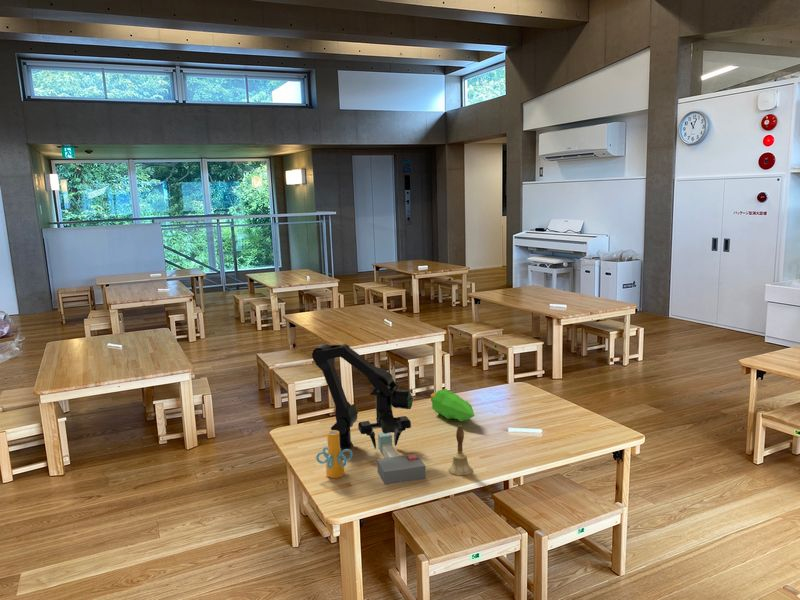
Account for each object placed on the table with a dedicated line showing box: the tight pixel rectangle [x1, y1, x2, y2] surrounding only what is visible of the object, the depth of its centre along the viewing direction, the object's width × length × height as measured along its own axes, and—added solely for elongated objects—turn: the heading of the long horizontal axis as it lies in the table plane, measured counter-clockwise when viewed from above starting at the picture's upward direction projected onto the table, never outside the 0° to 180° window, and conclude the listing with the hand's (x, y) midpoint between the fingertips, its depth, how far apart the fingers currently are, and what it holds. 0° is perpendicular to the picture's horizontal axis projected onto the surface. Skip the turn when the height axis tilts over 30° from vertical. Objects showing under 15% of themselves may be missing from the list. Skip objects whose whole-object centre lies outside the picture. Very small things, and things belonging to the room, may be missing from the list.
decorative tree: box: [430, 388, 475, 422], centre depth 248 cm, size 11×12×30 cm
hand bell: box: [447, 424, 474, 477], centre depth 201 cm, size 8×8×16 cm
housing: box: [376, 453, 427, 486], centre depth 200 cm, size 10×14×5 cm
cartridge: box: [377, 432, 400, 458], centre depth 213 cm, size 18×4×6 cm, turn 16°
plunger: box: [406, 453, 417, 461], centre depth 203 cm, size 3×3×5 cm
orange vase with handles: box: [315, 429, 353, 479], centre depth 201 cm, size 12×10×15 cm
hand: (385, 446), depth 221 cm, fingers open, 7 cm apart
